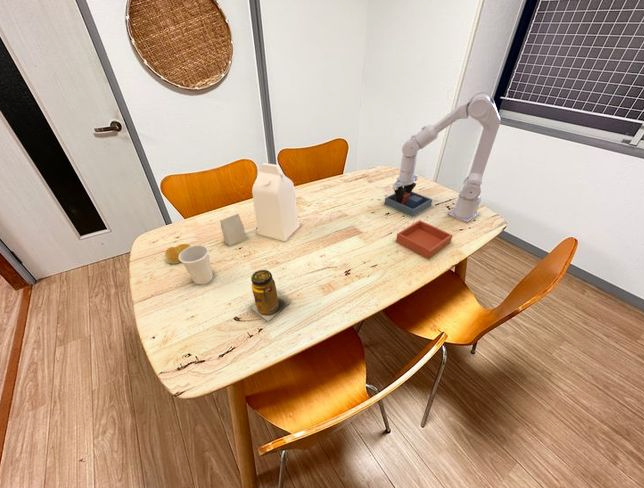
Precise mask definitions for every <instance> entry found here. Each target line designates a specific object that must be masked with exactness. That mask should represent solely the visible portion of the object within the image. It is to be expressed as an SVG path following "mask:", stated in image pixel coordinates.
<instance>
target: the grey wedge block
mask: <svg viewBox="0 0 644 488" xmlns="http://www.w3.org/2000/svg"><path fill="white" fill-rule="evenodd" d="M220 229H221V232H222V235H223V239H224V242H225V243H226V244H227V246H229V247H231V246H233V245H236V244H238V243H241V242H243V241H245V240H247V235H246V231H245V228H244V224H243V222H242V219H241V217H240V214H239V213H236V214H233V215H231V216H228V217H226V218H223V219H220Z"/></svg>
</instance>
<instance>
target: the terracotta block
mask: <svg viewBox="0 0 644 488" xmlns="http://www.w3.org/2000/svg"><path fill="white" fill-rule="evenodd" d="M409 197H410V193H408V192H405V193H404V195H403V198H402V201H401V203H400V204H403V205H405V204H407V199H408V198H409ZM395 201H396V197H395ZM396 202H397V201H396ZM398 203H399V202H398Z"/></svg>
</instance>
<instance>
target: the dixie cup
mask: <svg viewBox="0 0 644 488" xmlns="http://www.w3.org/2000/svg"><path fill="white" fill-rule="evenodd" d="M179 260H180V261H181V262H180V263H181V264H182V265H183V266H184V268H185V269H186V271H187V273H188V274H189V276H190V277H191V279H192V280H193V282H194V283H195V284H196V285H205V284H207V283H209V282H210V281H212V279H213V278H214V276H213V275H214V274H213V269H212V265H211V260H210V250H209V248H208V247H207V246H206V245H202V244H195V245H190V247H188V248H186V249H184V250H183V251H182V252H181V253H180V254H179Z"/></svg>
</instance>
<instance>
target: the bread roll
mask: <svg viewBox="0 0 644 488" xmlns="http://www.w3.org/2000/svg"><path fill="white" fill-rule="evenodd" d="M190 246H191V245H190V244H188V243H180V244H178V245H176V246H171V247H167V248H166V250H165V252H164V256H165V260H166V262H167V264H179V263H182V262H181V261H180V260H179V254H180V253H181V252H182V251H183V250H184V249H186V248H188V247H190Z"/></svg>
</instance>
